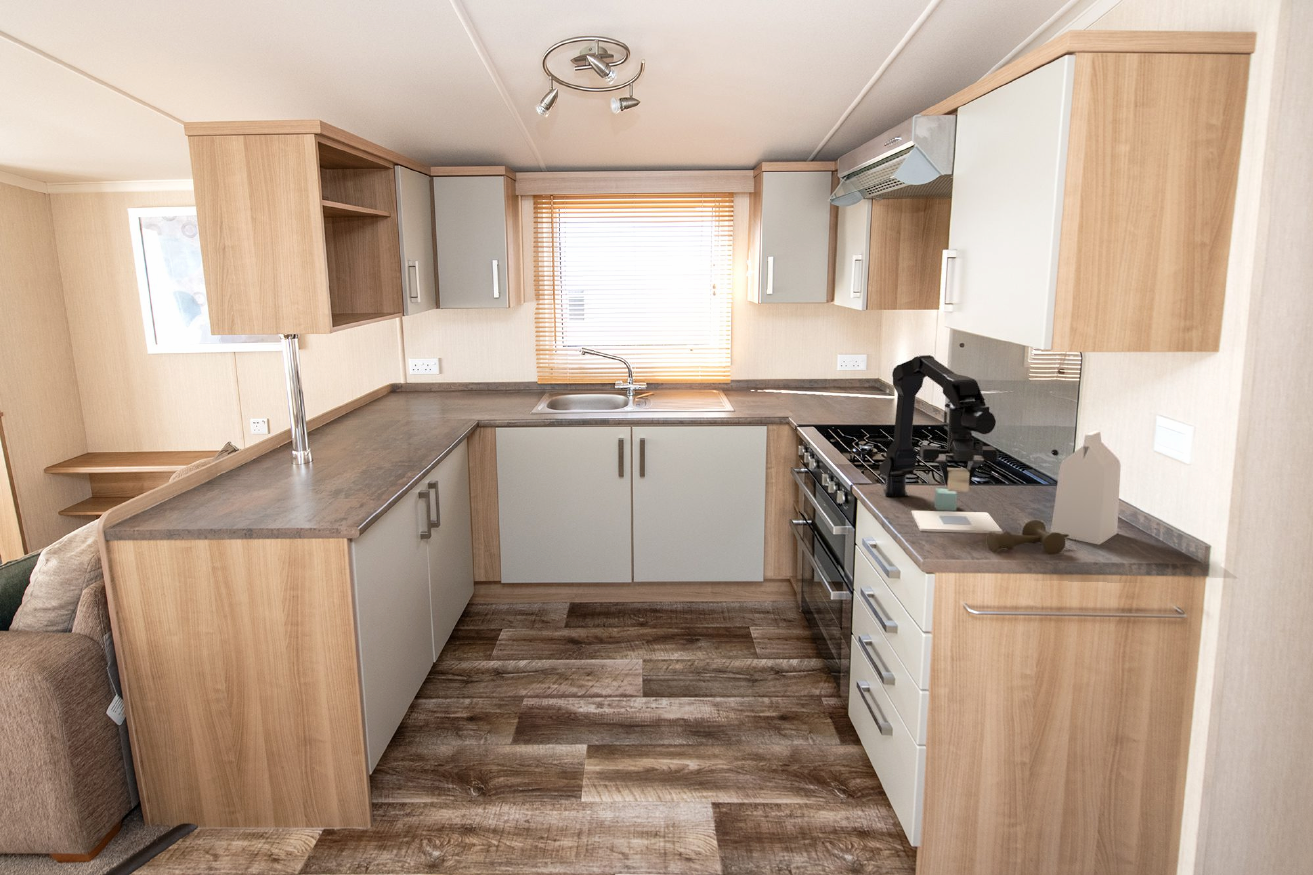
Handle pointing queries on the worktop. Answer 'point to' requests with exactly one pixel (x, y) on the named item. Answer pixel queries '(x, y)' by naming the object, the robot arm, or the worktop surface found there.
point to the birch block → (958, 479)
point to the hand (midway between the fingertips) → (956, 485)
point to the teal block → (945, 499)
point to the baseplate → (955, 522)
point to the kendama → (1028, 538)
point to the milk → (1088, 493)
